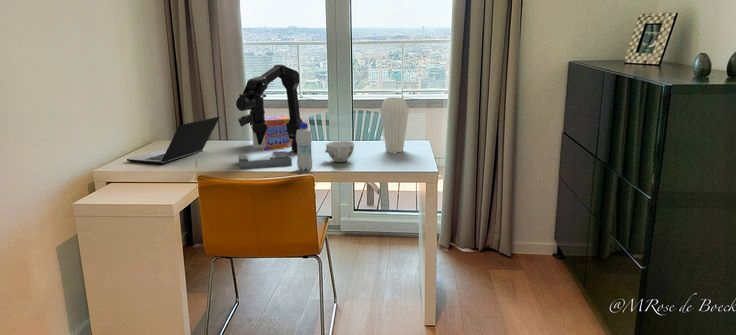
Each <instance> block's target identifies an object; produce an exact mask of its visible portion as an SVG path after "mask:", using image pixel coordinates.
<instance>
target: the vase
mask: <svg viewBox="0 0 736 335" xmlns="http://www.w3.org/2000/svg"><path fill="white" fill-rule="evenodd" d="M380 113H381V114H380V115H381V123H382V129H383V130H382V131H383V138H384V144H385V152H386V151H387V152H386V153H389V152H393V153H392V154H398V153H397V152H401V153H403V152H404V147H405V139H406V132H407V126H408V116H409V107H408V103H407V101H406V100H405V98H404V97H396V96H395V97H385V98H384V100H383V102H382V105H381V108H380ZM402 151H403V152H402ZM394 152H395V153H394Z"/></svg>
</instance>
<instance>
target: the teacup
mask: <svg viewBox="0 0 736 335" xmlns="http://www.w3.org/2000/svg"><path fill="white" fill-rule="evenodd" d="M325 146H326V147H325V149H326V148H327V149H326V151H327V154H328V156H329V157H330V158H331V159H332V160H333V162H337V163H344V162H345V163H346V162H347V161H348V160H349V159H350V157H351V156H352V154H353V151H354V146H355V143H354V142H351V141H335V142H329V143H326V145H325Z"/></svg>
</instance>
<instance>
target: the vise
mask: <svg viewBox="0 0 736 335" xmlns="http://www.w3.org/2000/svg"><path fill="white" fill-rule="evenodd" d="M237 158H238V165H239V169H256V168H258V169H260V168H271V167H287V166H289V167H290V166H293V161H292V160H293V159H292V157H290V156H289V158H285V159H273V157H270V158H269V159H257V160H256V159H255V160H249V158H248V154H247V153H238V154H237Z"/></svg>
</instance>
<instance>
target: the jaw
mask: <svg viewBox="0 0 736 335" xmlns="http://www.w3.org/2000/svg"><path fill="white" fill-rule="evenodd" d="M271 158H273V159H285V158H289V154H288V153H287V152H286V151H285V150H283V151H273V152H272V157H271Z"/></svg>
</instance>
